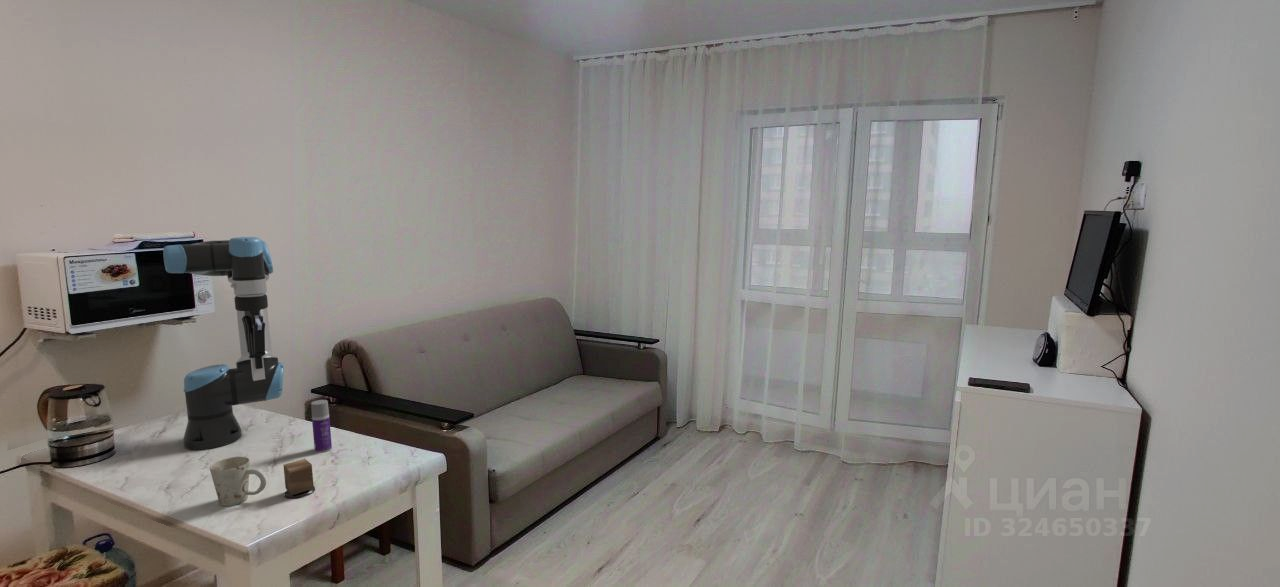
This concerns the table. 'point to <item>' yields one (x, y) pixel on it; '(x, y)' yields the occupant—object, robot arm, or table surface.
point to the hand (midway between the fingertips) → (259, 379)
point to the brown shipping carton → (298, 476)
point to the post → (299, 494)
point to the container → (321, 426)
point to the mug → (234, 480)
